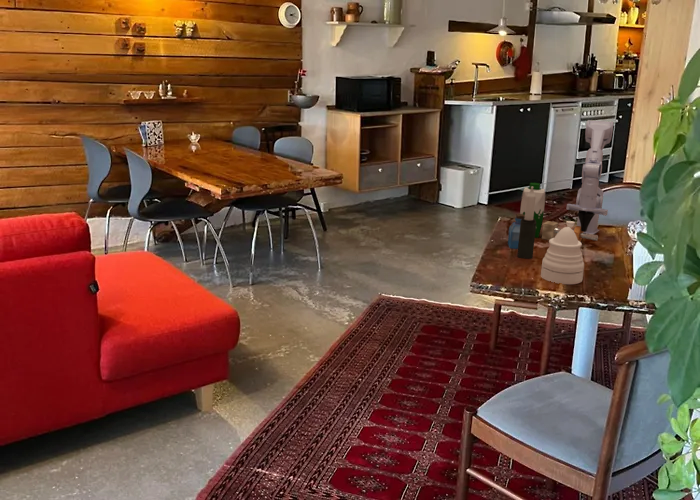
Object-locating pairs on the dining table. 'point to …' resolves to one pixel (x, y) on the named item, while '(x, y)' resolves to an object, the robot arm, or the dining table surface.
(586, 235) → the pipe
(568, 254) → the honey pot
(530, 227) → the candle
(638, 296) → the dining table surface
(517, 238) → the perfume bottle
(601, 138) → the robot arm
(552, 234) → the clamp block
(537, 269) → the dining table surface
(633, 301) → the dining table surface
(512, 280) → the dining table surface
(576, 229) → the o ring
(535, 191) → the milk carton
